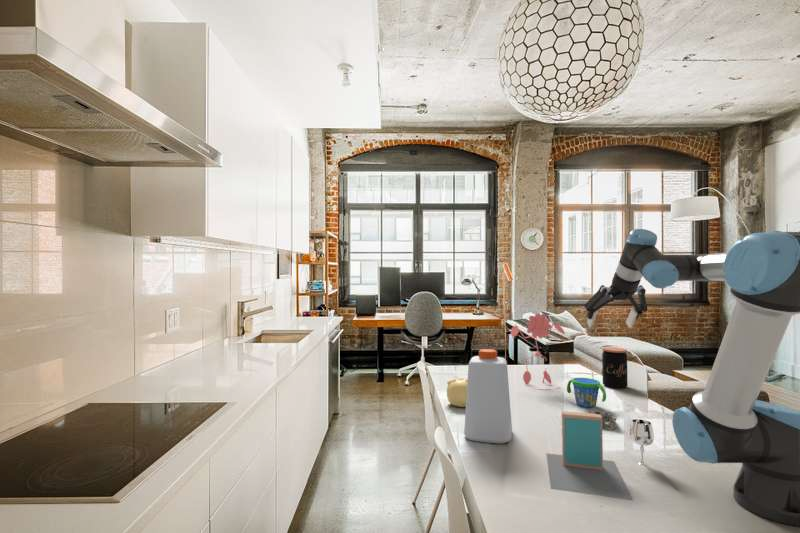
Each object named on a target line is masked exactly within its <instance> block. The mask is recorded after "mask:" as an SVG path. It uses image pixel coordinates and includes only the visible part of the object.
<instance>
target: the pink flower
mask: <svg viewBox="0 0 800 533" xmlns="http://www.w3.org/2000/svg"><path fill="white" fill-rule="evenodd" d="M528 319H529V322H527V323H526V327H527V329H526V333H527V334H531V335H530V336H525V335H524V334H523V333H522V331H521V330H520V328H519V327H518V325H517V324H515V325H513V327H511V329H510V335H511V337H512V339H514V338H515V337H516V336H517V335H519V333H520V334H521V336H522V337H523V339H529V338H533V339H535V345H536V351H535V352H534V355H531V356H529V357H527V358H526V359H525V364H526V365H525V366H526V371H524V373H523V376H522V379H523V382H524V384H525V386H527V385H528V384H530V382H531V379H532V374H531V372H530V371H529V370H528V361H527V360H528V359H531V358H533V357H537V358H539V357H542V358H544V359H545V360H547V357H545V356H544V355H542V352H540V351H539V346H538V342H537V341H538V340H537V338H539V339H543V338H545V337H546V338H547V337H548V336H549V335H550V332H551V330H552V328H553V326H554V329H556V330H557V331H558V332H559V333H561V334H563V335H566V332H565V331H564V329H563V328H562V326H561V325H560V324H558V323H557V322H555V321H553V322H552V325H551V324H550V323H551V319H550V318H546V314H545V312H544V313H543V312H542V313H541V314H540V313H536V314H534V315H529V316H528ZM542 374H543V378H542V383H545V381H546V382H548V384H550V385H552V379H551V376H550V374H549V373H548V372H547V369H545V370H544V371H543V373H542ZM538 390H543V391H544V390H545V391H549V390H550V391H551V390H553V388H552V389H551V388H550V389H549V388H548V389H546V388H545V389H544V388H543V389H542V388H538ZM556 390H559V387H557V388H556Z"/></svg>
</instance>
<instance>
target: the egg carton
mask: <svg viewBox="0 0 800 533" xmlns="http://www.w3.org/2000/svg"><path fill="white" fill-rule="evenodd" d="M591 414H600V415H601V416H602V430H603V429H608V428H609V430H610V429H613V430H616V429H617V423H616V421H617V417H615V416H614V415H613V413H607V411H604V412H603V411H601V410H595V409H591ZM608 421H609V422H608Z"/></svg>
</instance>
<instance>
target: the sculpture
mask: <svg viewBox="0 0 800 533" xmlns="http://www.w3.org/2000/svg"><path fill="white" fill-rule="evenodd" d="M467 381H468V379H465V378H463V377H458V378H455V379H451V380H448V381H446V383H447V387H446V397H447V401H448V402H449V404H450V405H452V406H454V407H459V408H464V407H465V408H466V397H467Z"/></svg>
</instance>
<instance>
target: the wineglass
mask: <svg viewBox="0 0 800 533" xmlns="http://www.w3.org/2000/svg"><path fill="white" fill-rule="evenodd" d="M654 432H655V431H654V428H653V424H652V422H651V421H649V420H646V419H640V418H639V419H638V418H636V419H635V418H634V419H632V420H631V424H630V428H629V436H630V439H631V441H632V442H634V443H635V444H637V445H638V446H640V447H639V451H640V457H641V458H640V461H638V462H637V463H638V464H639V465H642V466H646V465H647V463H645V461H644V453H645V452H644V451H645V448H644V447H645V446H650V445H652V444H653V442H654V440H655V433H654Z"/></svg>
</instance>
